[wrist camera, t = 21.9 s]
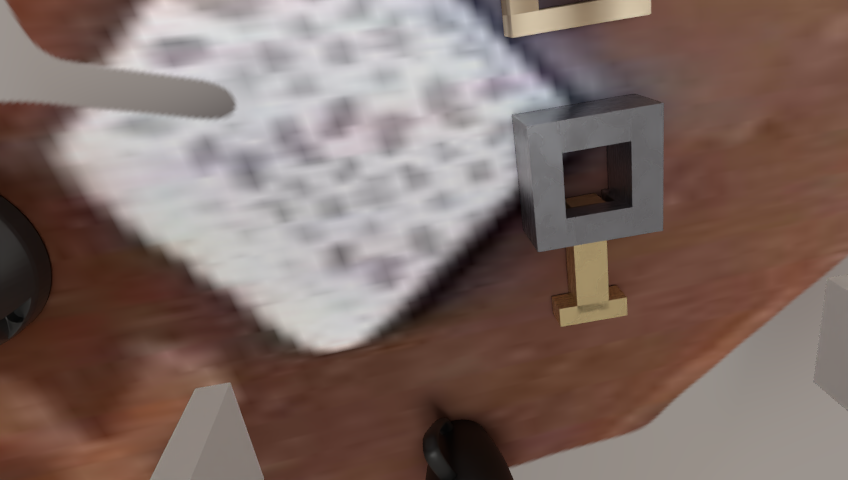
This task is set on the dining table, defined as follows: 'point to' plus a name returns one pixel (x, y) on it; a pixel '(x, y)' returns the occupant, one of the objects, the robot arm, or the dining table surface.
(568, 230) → the socket
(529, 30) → the rack
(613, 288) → the t-shaped block
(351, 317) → the dining table surface
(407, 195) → the dining table surface
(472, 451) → the mug
